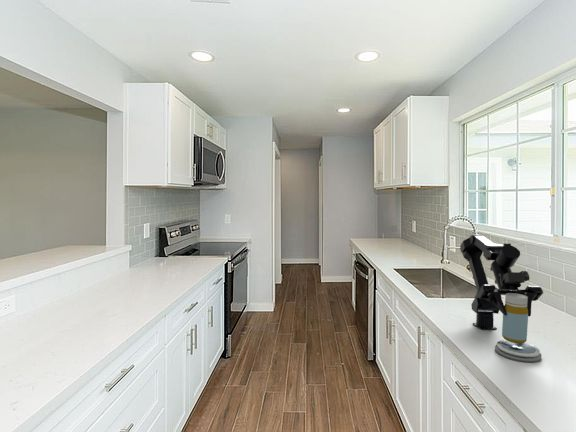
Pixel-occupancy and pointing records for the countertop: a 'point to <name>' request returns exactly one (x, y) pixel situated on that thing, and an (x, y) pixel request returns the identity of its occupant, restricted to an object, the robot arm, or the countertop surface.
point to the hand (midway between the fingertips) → (517, 315)
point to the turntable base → (520, 359)
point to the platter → (518, 349)
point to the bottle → (515, 318)
